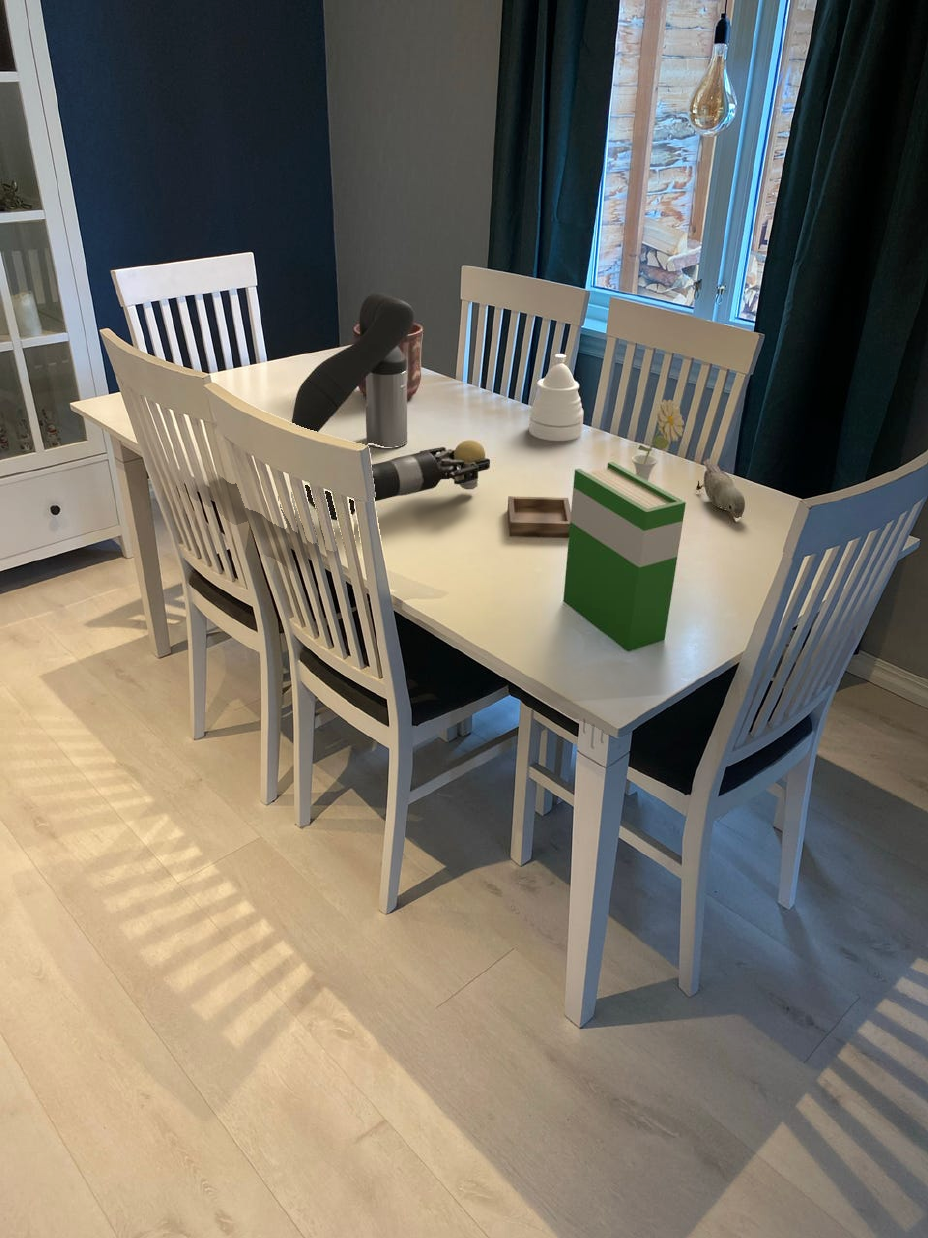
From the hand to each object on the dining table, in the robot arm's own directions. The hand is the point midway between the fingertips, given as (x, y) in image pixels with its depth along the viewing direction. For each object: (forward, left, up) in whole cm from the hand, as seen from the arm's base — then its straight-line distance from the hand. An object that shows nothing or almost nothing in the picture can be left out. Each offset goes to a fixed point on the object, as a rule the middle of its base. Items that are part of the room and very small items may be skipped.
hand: (478, 457), depth 199 cm
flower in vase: (+32, -14, -8) cm, 36 cm away
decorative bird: (+50, -5, -8) cm, 51 cm away
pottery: (-23, +60, -8) cm, 65 cm away
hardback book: (+22, -51, -8) cm, 56 cm away
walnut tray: (+12, -15, -7) cm, 21 cm away
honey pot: (+19, +37, -8) cm, 42 cm away
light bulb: (-2, -1, -6) cm, 7 cm away
